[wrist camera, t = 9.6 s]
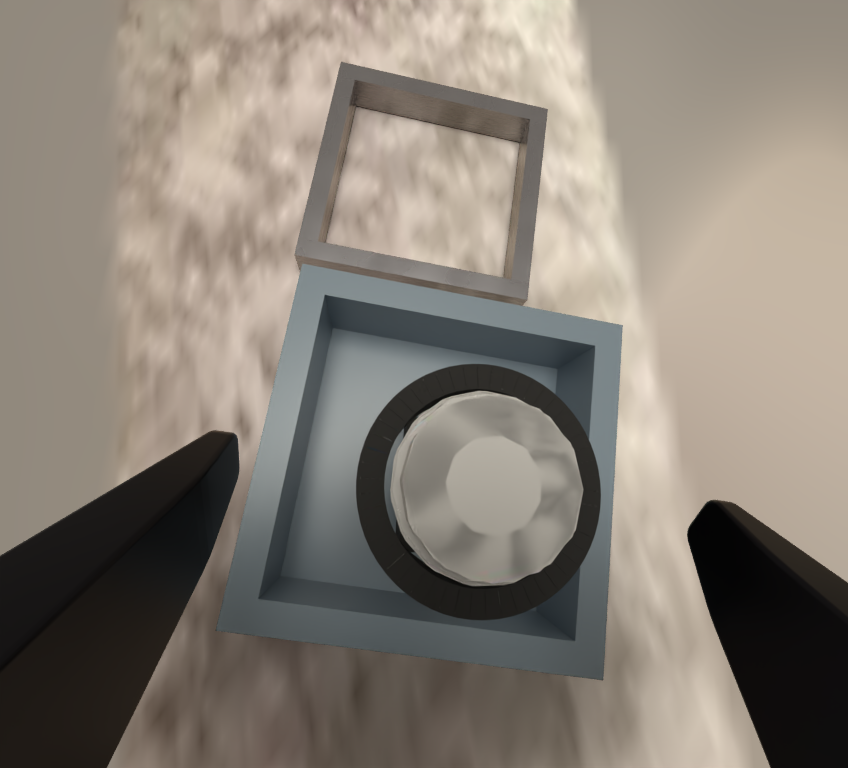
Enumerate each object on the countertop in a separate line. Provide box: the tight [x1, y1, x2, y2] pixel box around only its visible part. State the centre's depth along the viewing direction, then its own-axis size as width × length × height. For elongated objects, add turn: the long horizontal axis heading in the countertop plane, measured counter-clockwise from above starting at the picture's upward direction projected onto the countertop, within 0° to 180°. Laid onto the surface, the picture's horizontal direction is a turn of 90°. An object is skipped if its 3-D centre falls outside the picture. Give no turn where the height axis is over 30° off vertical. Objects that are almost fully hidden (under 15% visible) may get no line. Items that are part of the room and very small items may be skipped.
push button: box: [356, 364, 601, 620], centre depth 14 cm, size 7×5×10 cm
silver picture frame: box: [295, 62, 548, 306], centre depth 21 cm, size 10×10×2 cm
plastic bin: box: [216, 264, 623, 680], centre depth 17 cm, size 12×12×4 cm
